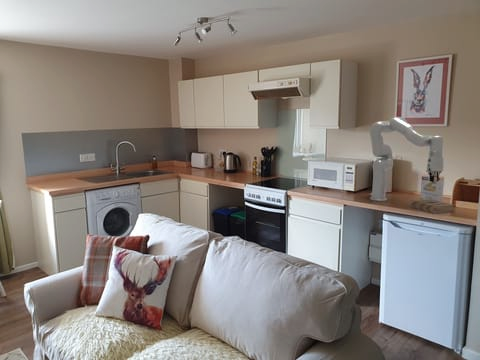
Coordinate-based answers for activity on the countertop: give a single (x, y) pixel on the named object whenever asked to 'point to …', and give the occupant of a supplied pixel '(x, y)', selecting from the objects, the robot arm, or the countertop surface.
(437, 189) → the cracker box
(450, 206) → the board
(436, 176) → the peg
